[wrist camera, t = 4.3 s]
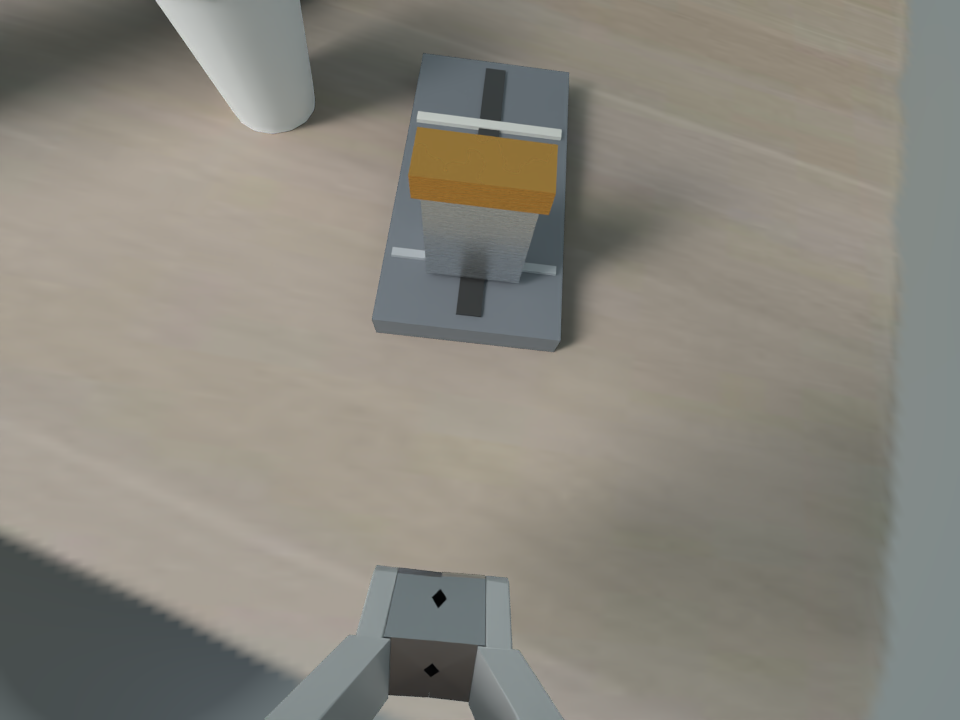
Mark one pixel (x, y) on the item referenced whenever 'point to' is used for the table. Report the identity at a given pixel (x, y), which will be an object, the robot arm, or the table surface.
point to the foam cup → (251, 57)
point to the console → (538, 296)
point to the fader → (480, 200)
